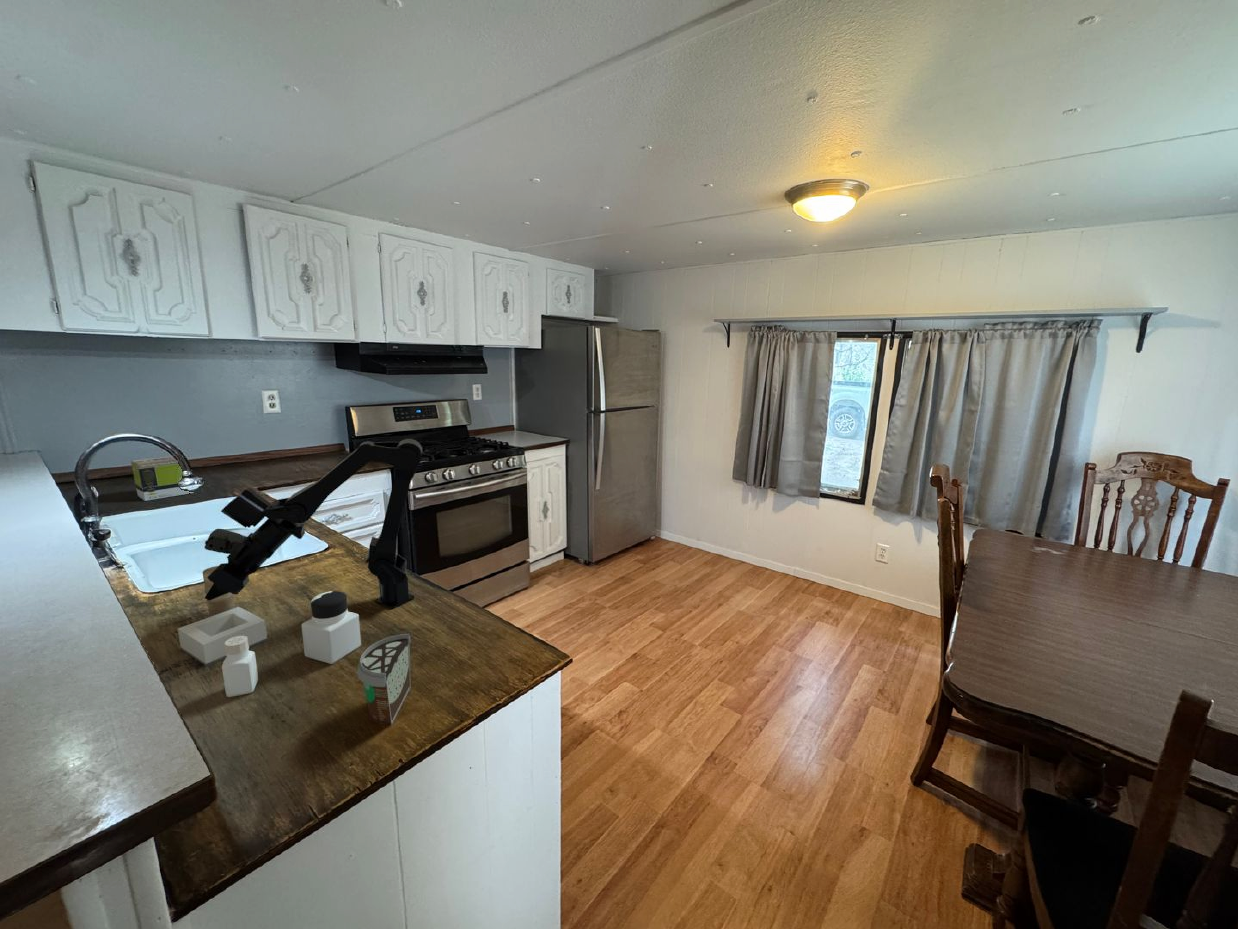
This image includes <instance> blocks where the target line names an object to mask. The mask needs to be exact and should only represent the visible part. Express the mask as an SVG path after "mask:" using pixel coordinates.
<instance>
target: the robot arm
mask: <svg viewBox="0 0 1238 929" xmlns="http://www.w3.org/2000/svg"><path fill="white" fill-rule="evenodd" d="M422 459H423V447H422V445H421V444H420V442H419V441H417V440H415V439H412V438H405V439H403V440H401V441H378V442H376V441H369V440H367V441H363V442H362V443H361V444H360V445H359V446H358V447H357V448H356V449H355V450H354V451H352V452H351V453H350V454H349V455H348V456H346V457H345V458H344V459H343V460H341V461H340V462H339V463H338V464H337V465H336V466H334V467H333V468H332V469H331V470H329V471H328V472H327V473H326V474H324V475H323V476H322V477H321V478H320V479H318V480H317V481H314V483H311V484H309V485H306V486H305V487H304V488H301V489H300V490H298V491H297V492H295V493H293V494H292V495H291V496H290V497H286V498H279V499H275V500H273V501H272V502H270V501H269V500H267V499H265V498H264V497H262V496H261V495H260V494H258V493H257V492H256V491H255V490H254V489H253V488H252V487H246V488H245V489H244V490H243V491H242V492H241V493H240V494H239V495H237V496H236V497H235V498H233V499H232V500H231V501H229V503H227V504H226V505H225V506H224V508H222V509H221V511H220V512H221V513H222V514H224V515H225V516H227V517H229V518H230V519H231V520H233V521H235V522H236V523H237V524H239V525H241V526H242V527H244V528H251V527H254V528H255V527H257V525H258V524H260V523H261V522H262V520H264V518H267V519H266V520H265V521H264V522H262V524H261V525H260V526H259V527H258V528H257V529H256V530H255V531H253V532H250V533H249V535H244V534H240V533H239V532H235V531H231V530H228V529H224V528H215V529H214V530H213V531H212V532H211V533H209V536H208V538H207V540H205V541H204V550H206V551H212V552H216V553H219V554H221V553H222V554H227V556H226V559H227V562H225V563H220V564H219V565H217V566H218V567H217V568H216V569H215V570H214V571H213V572H212V573H211V574H210V575H209V576H208V577H207V578H208V579H209V580H210V581H211V582H213V583H214V584H213V585H212V587H211V588H210V590H209V592H208V593H207V595H206V594H205V596H204V599H206V601H207V600H209V601H210V600H212V599H215V598H217V597H219V596H222V595H224V594H227V593H229V592H230V593H232V594H233V595H238V594H240V593H241V591H242V590H243V589H244V588H245V587H246V586H247V585H248V583H249V582H250V577H249V576H250V575H251V574H255V573H256V572H257V571H258V570H259V568H260V567H261V566H262V565H263V564H265V562H266V561H267V560H268V559H270V558H271V557H272V556H273V555H274V554H275V552H276V551H277V550H278V549H279V548H280V547H281V546H282V545H284V543H285V542H286V541H287V540H288V539H289V538H290V537H291V536H293V537H295V538H297V539H298V540H302V538H303V536H305V534H306V531H305V523H306V522H307V521H309V520H310V518H311V517H312V516H313V515H314V514H315V513H316V511H318V509H319V508H320V507H321V506H322V505H323V503H324V501H326V500H327V498H328V497H329V496H330V495H332V493H333V492H334V491H336V490H337V489H338V488H339V487H341V486H342V485H343V484H345V482H347V481H348V480H349V479H350V478H352V477H353V475H355V474H356V473H358V472H359V471H360V470H361V469H362V468H364V466H366V465H367V464H368V463H370V462H374V463H383V464H389V465H390V464H392V465H393V482H392V486H391V490H390V494H389V499H388V503H387V507H386V512H385V516H384V519H383V524H382V528H381V532H380V534H379V535H378V538H377V537H376V536H372V537H371V540H370V542H369V547H368V552H367V555H366V558H365V561H364V562H365V564H367V563H368V564H367V569H368V571H369V573H371V574H372V575H373V576H375V577H376V578H377V580H378V583H379V585H378V586H379V596H380V597H377V598H375V599H374V603H377V604H379V605H381V606H384V607H387V608H389V609H394V608H396V607H399V606H400V605H402V604H406V602H409V601H411V600H413V599H415V595H413V594H411V593H409V590H410V589H409V578H408V575H407V573H406V572H407V563H408V562H407V561H408V560H407V559H406V558H404V557H403V556H401V555H400V554H398V541H399V540H398V535H399V531H400V528H401V522H402V519H403V515H404V514H403V513H404V511H405V507H406V506H405V505H406V502H407V497H408V493H409V490H410V485H411V482H412V480H413V478H414V476H415V475H416V473H417V470H418V468H419V466H420V464H421V461H422Z"/></svg>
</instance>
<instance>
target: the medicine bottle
mask: <svg viewBox="0 0 1238 929" xmlns="http://www.w3.org/2000/svg"><path fill="white" fill-rule="evenodd" d="M310 610H311V618H310V619H308V620H306V621H304V622H302V624H301V634H302V642H303V649H304V650H303V651H304V656H305V657H306V658H309V659H313V660H316V661H320V662H322V663H323V662H324V663H326V664H329V665H334V664H335V663H337V662H338V661H340V660H341V659H342V658H344V657H346V656H348V655H349V654H350V653H352V652H353V651H354V650H357V649H359V647H361V646H362V639H361V638H362V637H361V627H360V615H359V614H358V613H355V612H351V611H349V610H348V599H347V594H346V593H345V592H343V591H338V590H331V591H330V590H329V591H326V592H323V593H320V594H317V595H315V596H314V597H313V598H312V599H311V601H310Z"/></svg>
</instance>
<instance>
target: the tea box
mask: <svg viewBox="0 0 1238 929" xmlns="http://www.w3.org/2000/svg"><path fill="white" fill-rule="evenodd" d="M172 456H173V455H169V456H162V457H151V458H143V459H136V460H131V461H130V463H131V468H132V473H133V478H134V485H135V490H136V493H137V497H139V498H140V499H141V500H143V501H145V502H147V501H153V500H158V499H164V498H171V497H176V496H183V495H189V493H190V494H194V492H189V491H184V490H181V489H180V488H179V486H178V483H179V481H180V480H181V479H182V476H183V472H182V469H181V467H180V466H179V464H178V461H177V460H175V459H174V458H173V457H172ZM187 460H188V461H189V458H187Z"/></svg>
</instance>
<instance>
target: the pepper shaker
mask: <svg viewBox="0 0 1238 929" xmlns="http://www.w3.org/2000/svg"><path fill="white" fill-rule="evenodd" d="M249 649H250V648H249V646H248V639H247V637H246V636H236V637H233V638H230V639H228V640H227V641H226V642H225V651H226V655H227V657H226V658H225V659H223V660H224V661H223V662H222V665H221V669H222V674H223V675H222V677H223V683H224V689H225V691H224V692H225V695H226V697H228V698H231V697H237V696H242V695H247V694H251V693H253V692H254V690H255V688H256V686H257V684H258V681H259V674H258V665H257V659H256V658H257V657H256V653H255V651H252V650H249Z"/></svg>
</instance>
